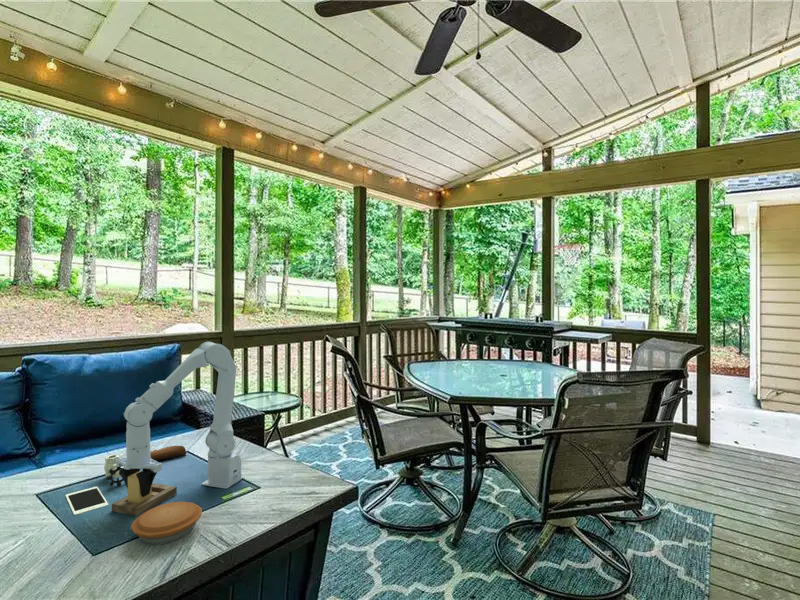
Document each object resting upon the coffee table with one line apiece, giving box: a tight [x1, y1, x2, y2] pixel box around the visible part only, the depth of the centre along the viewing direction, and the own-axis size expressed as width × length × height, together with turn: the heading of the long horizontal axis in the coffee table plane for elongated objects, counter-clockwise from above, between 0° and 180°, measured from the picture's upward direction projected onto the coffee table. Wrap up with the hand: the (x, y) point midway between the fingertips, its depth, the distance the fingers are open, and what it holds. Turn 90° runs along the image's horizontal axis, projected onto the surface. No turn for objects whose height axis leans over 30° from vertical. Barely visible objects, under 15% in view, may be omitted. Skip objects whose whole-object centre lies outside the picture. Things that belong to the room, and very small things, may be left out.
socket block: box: [111, 482, 178, 517], centre depth 121 cm, size 9×13×2 cm
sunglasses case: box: [150, 445, 187, 462], centre depth 152 cm, size 18×7×7 cm
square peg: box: [127, 470, 151, 504], centre depth 119 cm, size 4×4×8 cm
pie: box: [131, 501, 203, 545], centre depth 106 cm, size 16×16×5 cm
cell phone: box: [65, 486, 109, 516], centre depth 122 cm, size 8×16×1 cm, turn 45°
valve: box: [103, 454, 124, 487], centre depth 135 cm, size 7×7×12 cm
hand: (139, 494), depth 119 cm, fingers closed on square peg, 4 cm apart
